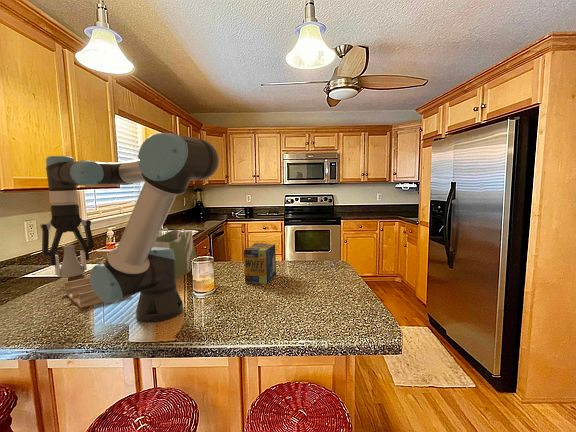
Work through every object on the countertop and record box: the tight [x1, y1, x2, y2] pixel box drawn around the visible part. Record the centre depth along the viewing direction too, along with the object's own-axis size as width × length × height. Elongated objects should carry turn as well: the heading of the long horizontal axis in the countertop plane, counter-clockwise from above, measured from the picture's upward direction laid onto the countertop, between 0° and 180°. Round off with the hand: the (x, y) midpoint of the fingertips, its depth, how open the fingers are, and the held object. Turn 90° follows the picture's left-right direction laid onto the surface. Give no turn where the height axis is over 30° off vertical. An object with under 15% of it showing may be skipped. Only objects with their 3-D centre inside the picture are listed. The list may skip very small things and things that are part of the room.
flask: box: [57, 244, 86, 278], centre depth 102 cm, size 7×7×10 cm
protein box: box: [243, 242, 277, 286], centre depth 141 cm, size 10×15×16 cm
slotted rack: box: [64, 276, 104, 309], centre depth 127 cm, size 22×18×5 cm
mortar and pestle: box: [67, 243, 85, 282], centre depth 145 cm, size 7×6×18 cm
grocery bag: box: [153, 227, 198, 280], centre depth 155 cm, size 32×14×23 cm, turn 175°
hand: (71, 271), depth 103 cm, fingers closed on flask, 7 cm apart
